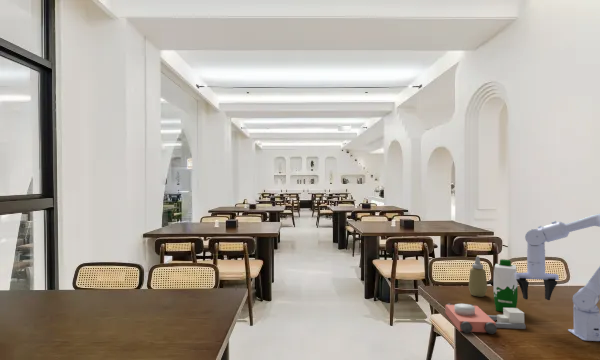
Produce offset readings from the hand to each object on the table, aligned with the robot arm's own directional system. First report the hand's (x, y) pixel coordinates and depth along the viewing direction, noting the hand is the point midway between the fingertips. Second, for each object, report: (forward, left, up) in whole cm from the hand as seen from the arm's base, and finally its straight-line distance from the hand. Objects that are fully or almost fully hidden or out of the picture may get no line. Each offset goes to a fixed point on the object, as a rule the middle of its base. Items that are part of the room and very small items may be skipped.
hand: (536, 299), depth 147 cm
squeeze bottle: (+40, +8, -10) cm, 42 cm away
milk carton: (+18, +4, -10) cm, 21 cm away
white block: (0, +9, -9) cm, 13 cm away
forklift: (0, +18, -9) cm, 20 cm away
